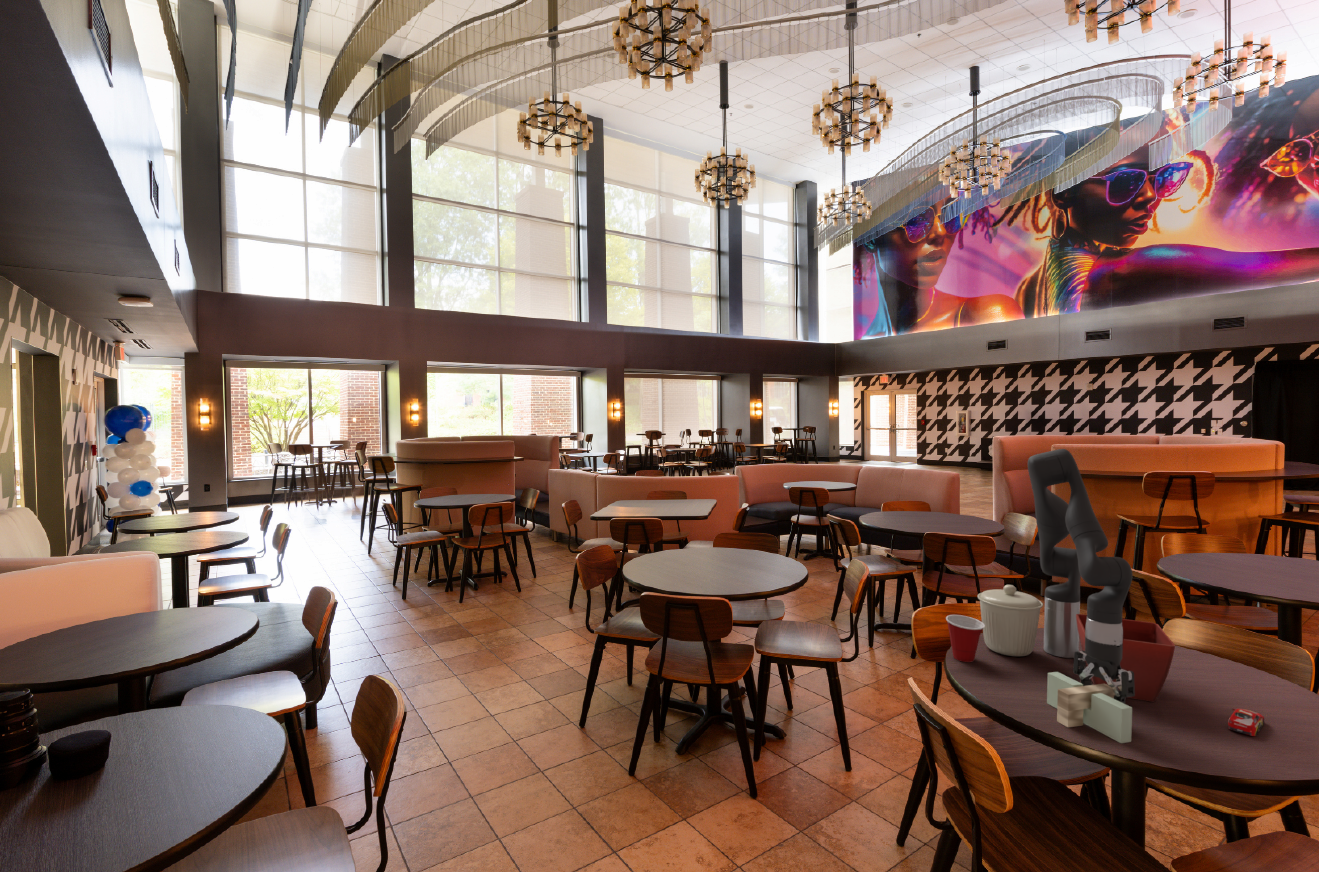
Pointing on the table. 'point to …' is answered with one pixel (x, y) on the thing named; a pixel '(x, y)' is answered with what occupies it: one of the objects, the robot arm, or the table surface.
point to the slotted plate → (1077, 702)
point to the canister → (1009, 620)
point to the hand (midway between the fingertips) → (1102, 702)
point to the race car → (1246, 722)
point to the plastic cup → (964, 636)
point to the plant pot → (1140, 656)
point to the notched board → (1096, 709)
